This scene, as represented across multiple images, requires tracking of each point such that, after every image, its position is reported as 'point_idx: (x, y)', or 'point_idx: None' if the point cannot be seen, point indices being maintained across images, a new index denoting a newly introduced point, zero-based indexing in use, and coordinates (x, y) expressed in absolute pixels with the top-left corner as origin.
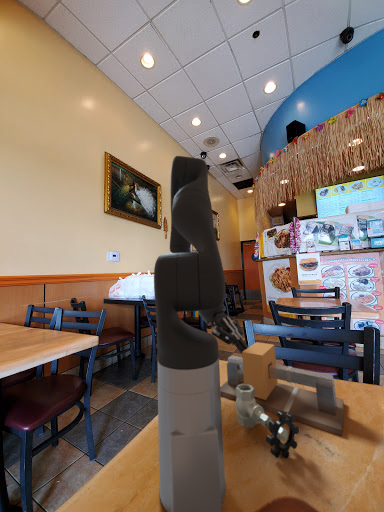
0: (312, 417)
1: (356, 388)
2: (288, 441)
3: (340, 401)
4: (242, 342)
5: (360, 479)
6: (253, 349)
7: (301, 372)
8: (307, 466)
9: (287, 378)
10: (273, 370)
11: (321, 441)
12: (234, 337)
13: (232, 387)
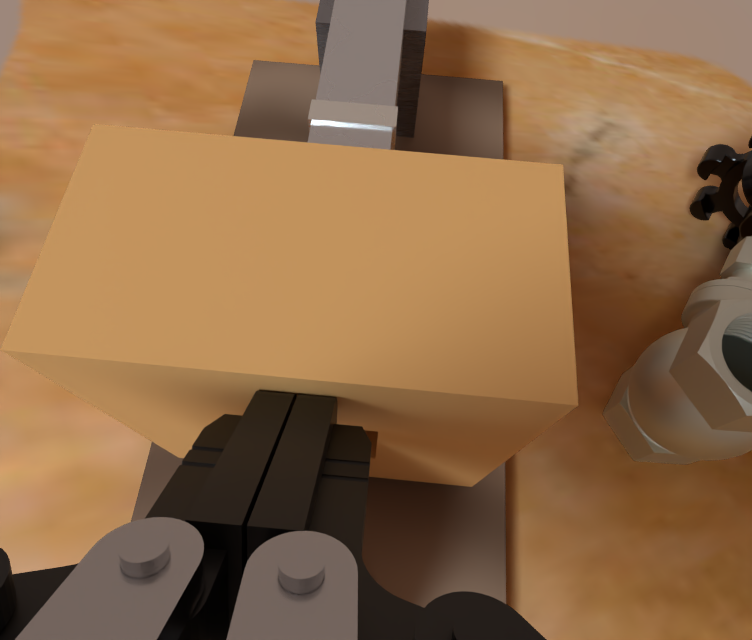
0: (479, 155)
1: (78, 28)
2: (738, 204)
3: (281, 69)
4: (294, 480)
5: (663, 78)
6: (402, 294)
7: (383, 53)
8: None
9: None
10: None
11: (571, 148)
12: (434, 618)
13: None
